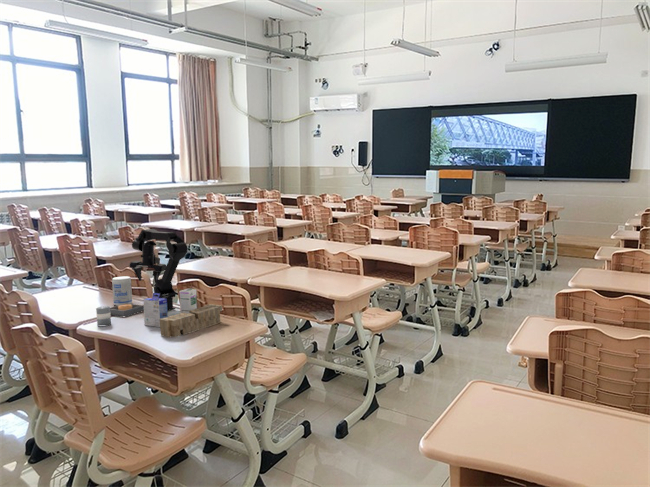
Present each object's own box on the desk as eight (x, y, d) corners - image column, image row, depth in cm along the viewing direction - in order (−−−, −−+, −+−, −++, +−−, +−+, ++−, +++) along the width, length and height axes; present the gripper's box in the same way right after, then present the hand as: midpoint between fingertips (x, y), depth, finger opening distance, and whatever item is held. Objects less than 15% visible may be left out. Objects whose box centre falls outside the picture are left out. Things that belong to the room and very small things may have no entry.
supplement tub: (114, 307, 262) (112, 280, 261) (112, 303, 271) (110, 277, 269) (133, 304, 267) (131, 278, 265) (131, 301, 275) (129, 275, 273)
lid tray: (143, 311, 252) (143, 305, 252) (124, 317, 241) (123, 311, 241) (126, 308, 258) (126, 303, 257) (106, 314, 247) (106, 308, 247)
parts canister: (114, 323, 230) (112, 306, 229) (103, 326, 225) (101, 309, 224) (105, 322, 232) (104, 305, 232) (94, 325, 227) (93, 308, 226)
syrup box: (191, 321, 230) (189, 291, 228) (180, 320, 232) (179, 290, 230) (198, 318, 236) (196, 288, 234) (188, 317, 237) (186, 288, 236)
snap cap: (132, 312, 248) (132, 306, 248) (118, 313, 245) (118, 307, 245) (132, 309, 254) (131, 303, 253) (118, 311, 251) (117, 304, 251)
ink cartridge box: (169, 324, 226) (167, 293, 225) (160, 327, 221) (158, 296, 220) (152, 322, 231) (150, 292, 229) (144, 325, 226) (141, 294, 224)
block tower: (172, 341, 205) (223, 322, 229) (170, 321, 204) (222, 304, 228) (160, 338, 210) (212, 319, 233) (158, 318, 208) (210, 302, 232)
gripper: (172, 252, 264) (171, 280, 267) (141, 248, 268) (141, 276, 271) (160, 255, 253) (160, 285, 256) (128, 252, 257) (128, 281, 260)
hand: (148, 281), depth 261 cm, fingers open, 9 cm apart
